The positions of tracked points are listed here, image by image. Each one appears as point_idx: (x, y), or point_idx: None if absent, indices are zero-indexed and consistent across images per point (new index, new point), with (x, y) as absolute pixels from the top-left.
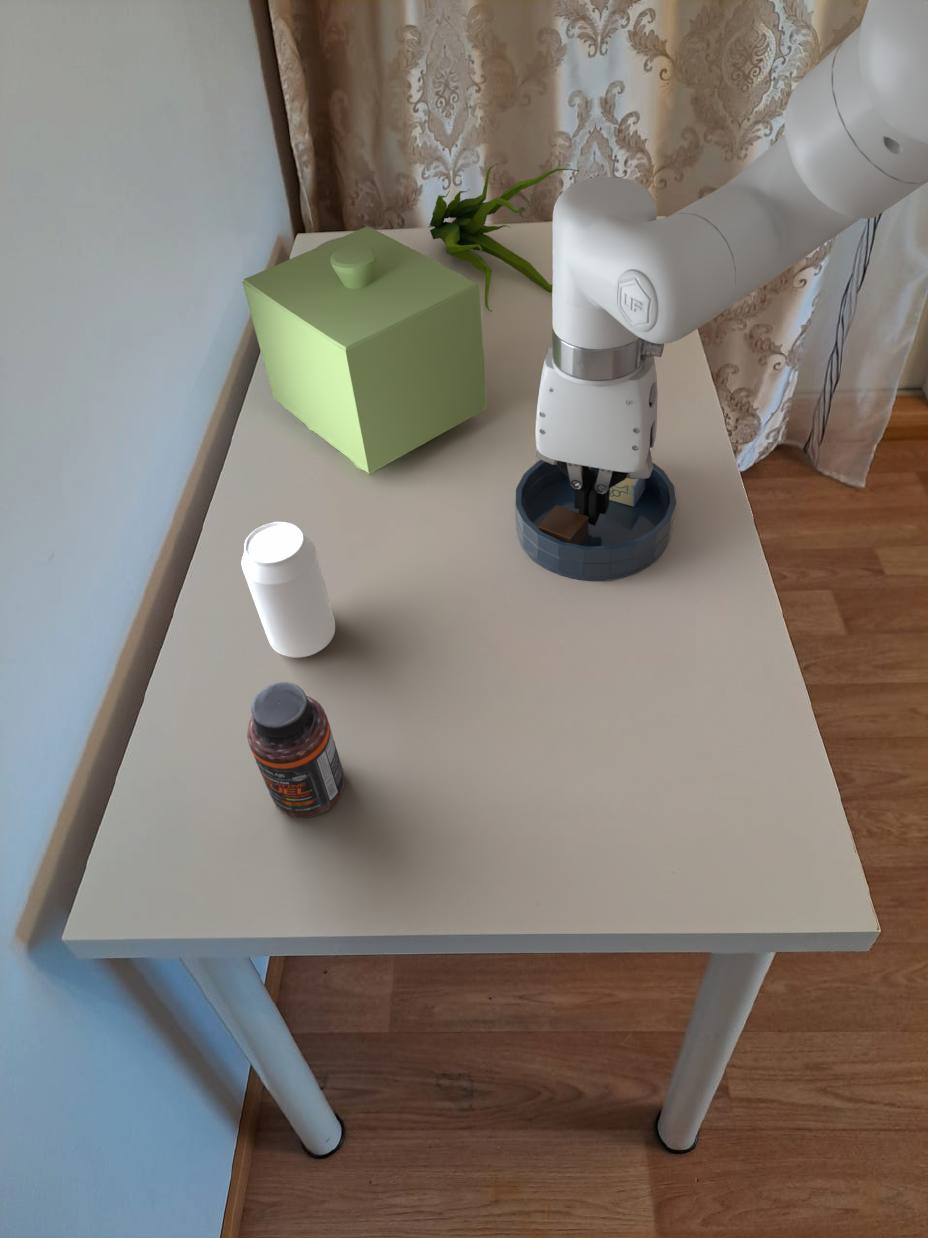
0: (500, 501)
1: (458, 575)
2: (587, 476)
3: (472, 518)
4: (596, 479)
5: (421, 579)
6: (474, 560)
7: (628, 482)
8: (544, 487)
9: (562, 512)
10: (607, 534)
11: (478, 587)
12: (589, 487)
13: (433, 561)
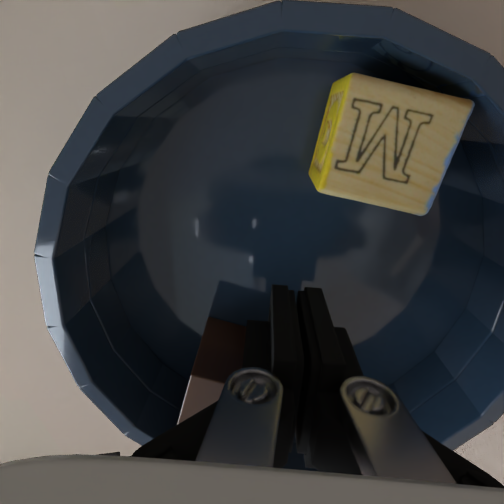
0: (35, 219)
1: (65, 430)
2: (281, 448)
3: (5, 289)
4: (322, 454)
5: (9, 447)
6: (74, 396)
7: (401, 205)
8: (122, 163)
9: (217, 400)
10: (330, 301)
11: (113, 447)
12: (293, 434)
13: (3, 410)
